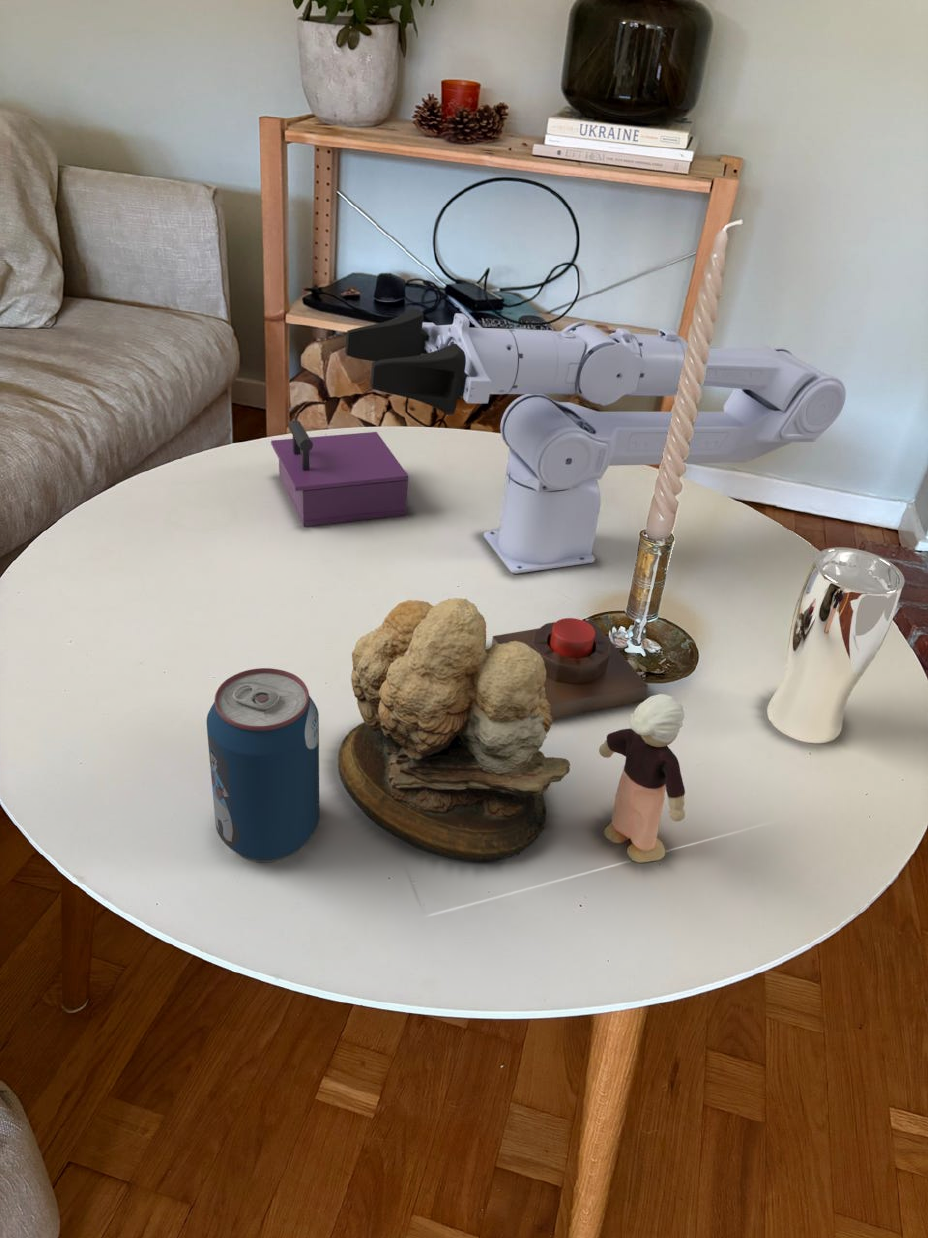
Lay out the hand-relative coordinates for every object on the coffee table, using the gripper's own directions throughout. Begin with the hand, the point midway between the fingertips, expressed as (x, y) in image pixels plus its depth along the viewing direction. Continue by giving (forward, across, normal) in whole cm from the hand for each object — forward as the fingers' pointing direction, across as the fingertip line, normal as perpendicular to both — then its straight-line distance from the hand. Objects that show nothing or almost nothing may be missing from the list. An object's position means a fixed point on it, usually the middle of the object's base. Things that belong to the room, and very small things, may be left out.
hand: (359, 358), depth 81 cm
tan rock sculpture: (0, +30, +22) cm, 37 cm away
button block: (-15, +20, +20) cm, 32 cm away
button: (-15, +20, +17) cm, 30 cm away
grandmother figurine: (-11, +38, +21) cm, 45 cm away
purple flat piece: (-4, -16, +17) cm, 24 cm away
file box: (-5, -16, +22) cm, 27 cm away
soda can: (+13, +30, +23) cm, 40 cm away
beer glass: (-32, +31, +19) cm, 49 cm away
